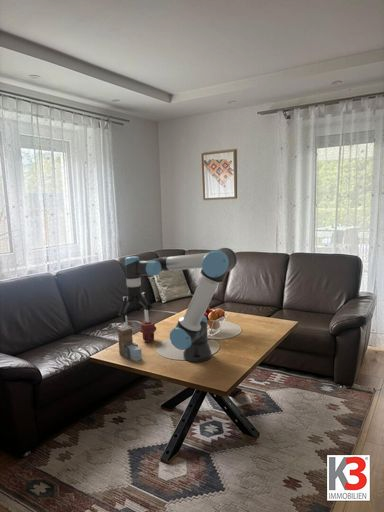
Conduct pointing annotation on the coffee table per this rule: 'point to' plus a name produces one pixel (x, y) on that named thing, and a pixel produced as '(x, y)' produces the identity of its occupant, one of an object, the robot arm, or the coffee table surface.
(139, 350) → the light blue block
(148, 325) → the mechanical component
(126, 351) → the post
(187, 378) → the coffee table surface
